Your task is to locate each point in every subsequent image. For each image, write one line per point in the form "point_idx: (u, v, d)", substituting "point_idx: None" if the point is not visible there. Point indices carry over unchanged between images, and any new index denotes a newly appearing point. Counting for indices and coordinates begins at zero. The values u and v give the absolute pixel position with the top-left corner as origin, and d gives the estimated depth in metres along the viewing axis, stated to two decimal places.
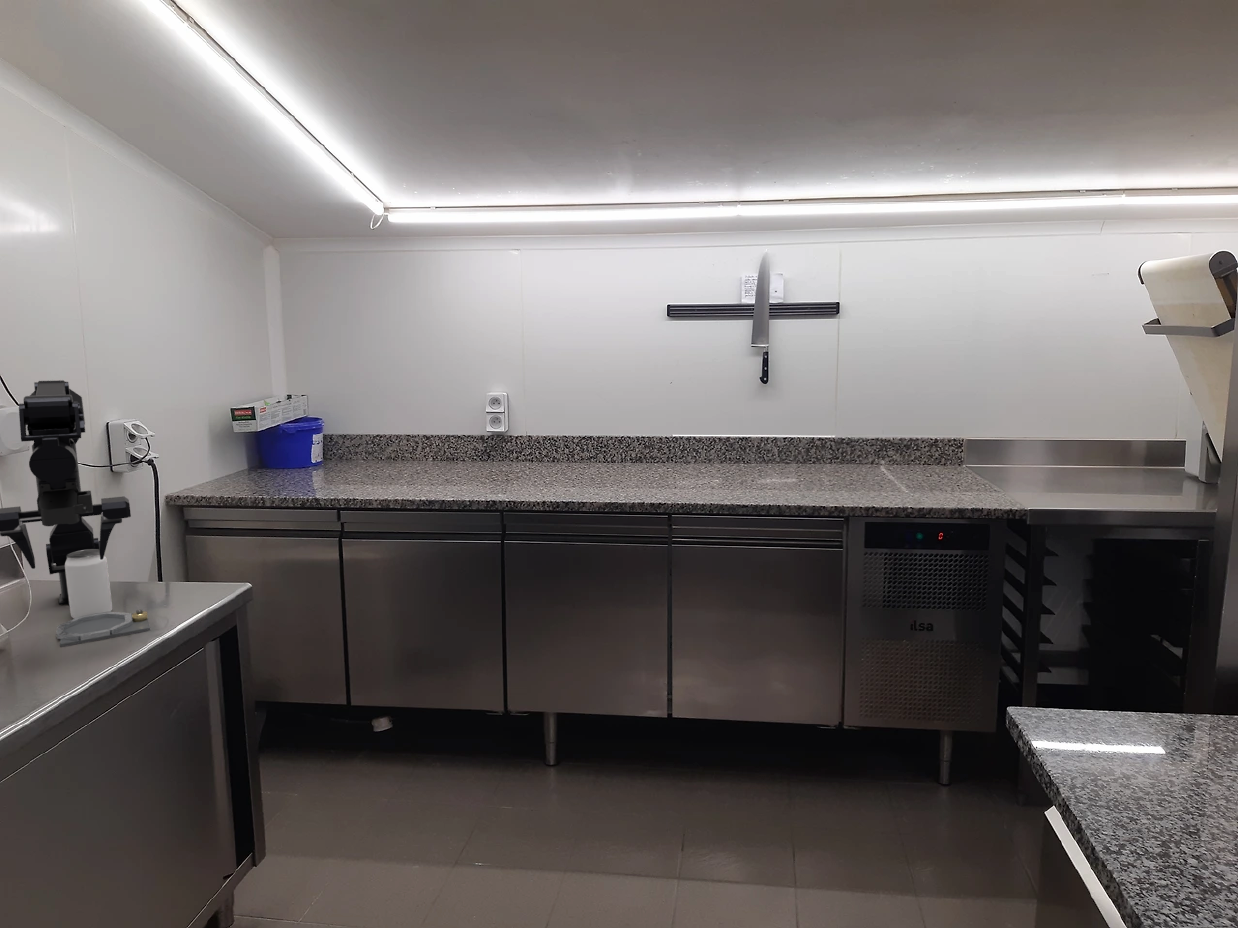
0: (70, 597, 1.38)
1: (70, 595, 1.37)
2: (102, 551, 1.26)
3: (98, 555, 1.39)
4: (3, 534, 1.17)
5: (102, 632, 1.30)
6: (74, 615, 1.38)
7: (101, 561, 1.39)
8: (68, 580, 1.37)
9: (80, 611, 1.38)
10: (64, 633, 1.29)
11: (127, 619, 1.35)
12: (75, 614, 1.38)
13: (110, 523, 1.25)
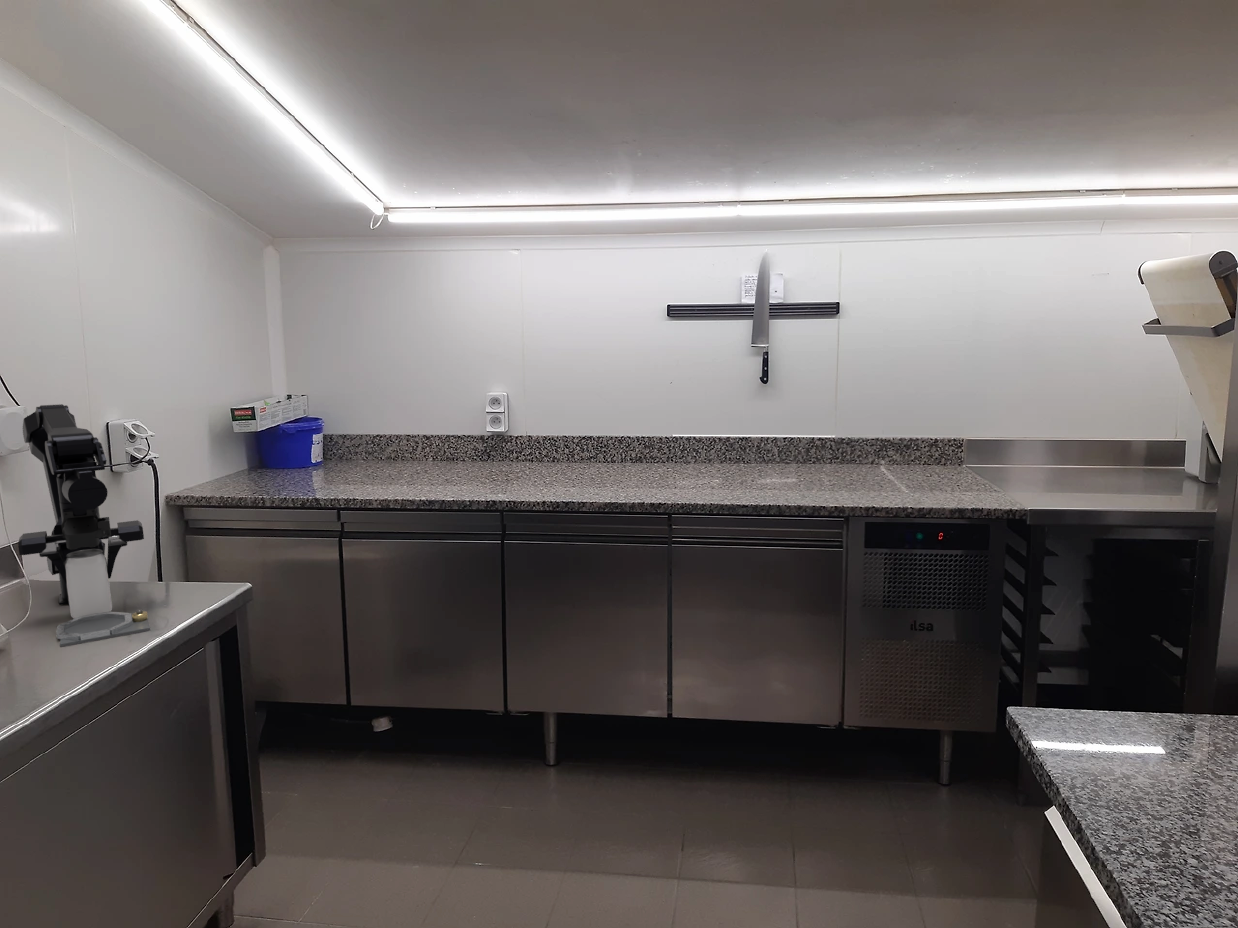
0: (70, 597, 1.38)
1: (70, 595, 1.37)
2: (109, 571, 1.41)
3: (98, 555, 1.39)
4: (42, 555, 1.33)
5: (102, 632, 1.30)
6: (74, 615, 1.38)
7: (100, 561, 1.39)
8: (68, 580, 1.37)
9: (80, 611, 1.38)
10: (64, 633, 1.29)
11: (127, 619, 1.35)
12: (75, 614, 1.38)
13: (117, 546, 1.40)
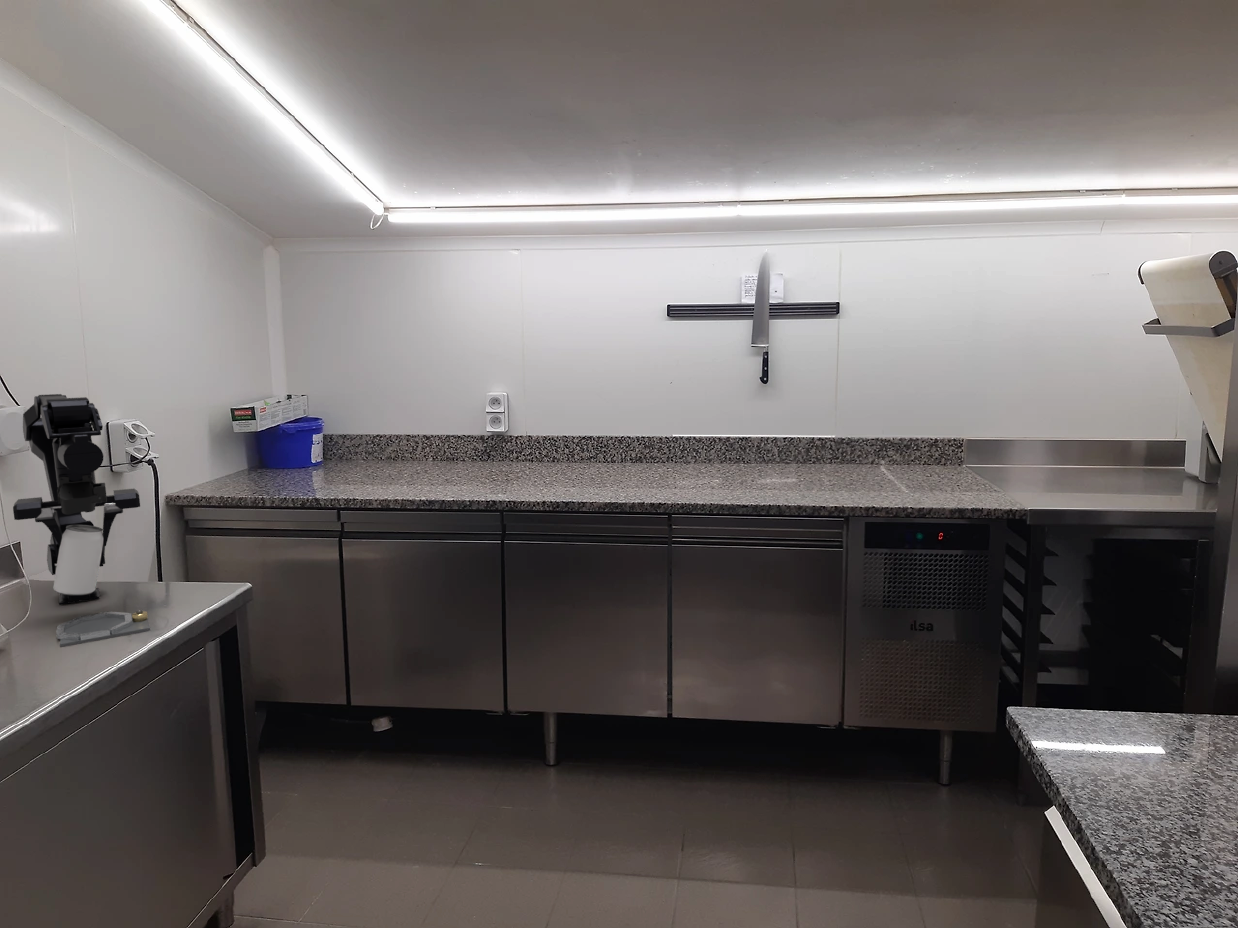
0: (57, 569, 1.36)
1: (58, 567, 1.36)
2: (105, 539, 1.40)
3: (96, 532, 1.38)
4: (38, 520, 1.32)
5: (102, 632, 1.30)
6: (56, 588, 1.36)
7: (97, 539, 1.38)
8: (60, 551, 1.36)
9: (62, 585, 1.35)
10: (64, 633, 1.29)
11: (127, 619, 1.35)
12: (57, 587, 1.36)
13: (112, 513, 1.38)
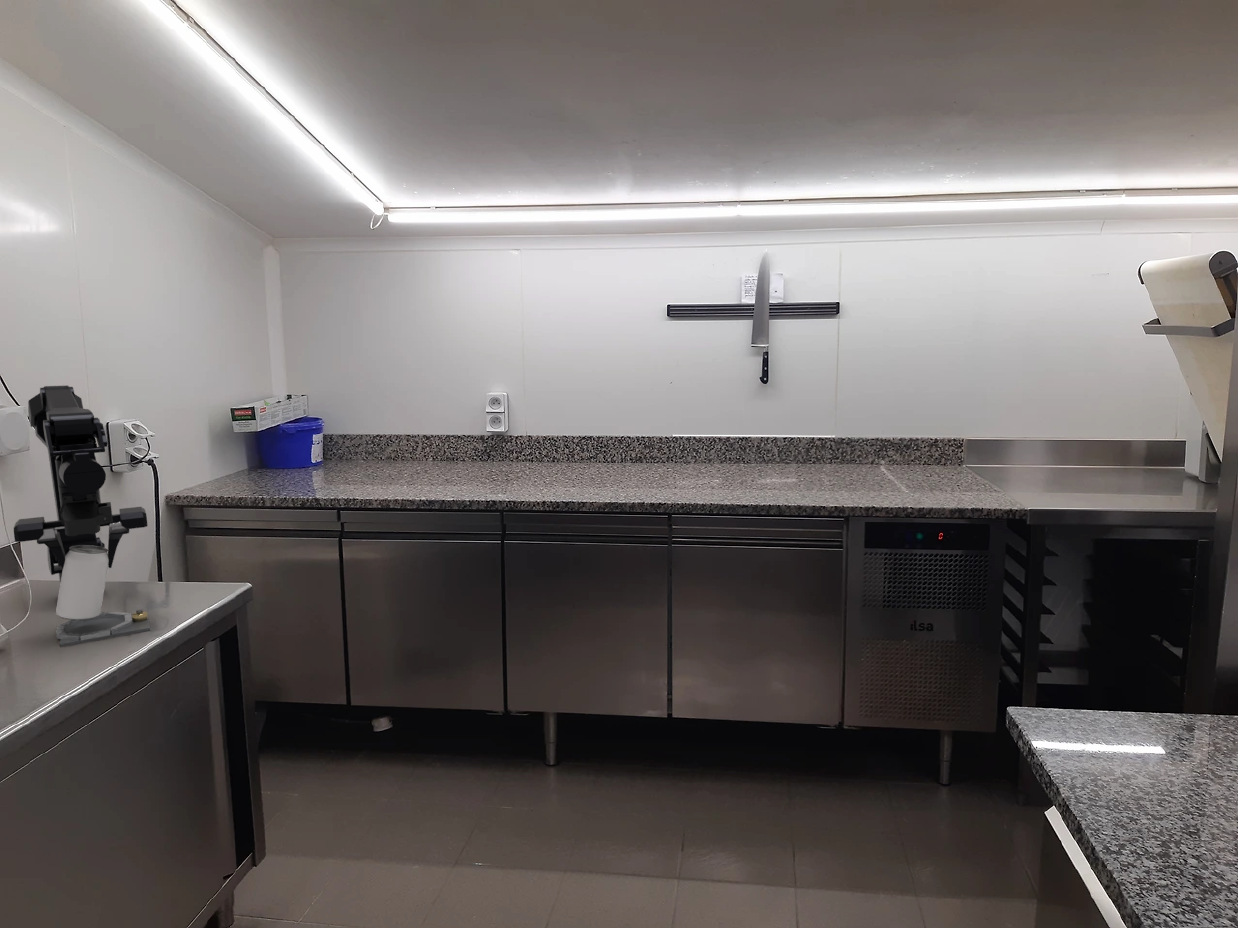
0: (60, 592, 1.29)
1: (61, 590, 1.29)
2: (110, 560, 1.33)
3: (101, 553, 1.31)
4: (40, 542, 1.25)
5: (102, 632, 1.30)
6: (59, 612, 1.29)
7: (102, 561, 1.31)
8: (63, 574, 1.29)
9: (66, 609, 1.28)
10: (64, 633, 1.29)
11: (127, 619, 1.35)
12: (60, 611, 1.29)
13: (118, 533, 1.31)
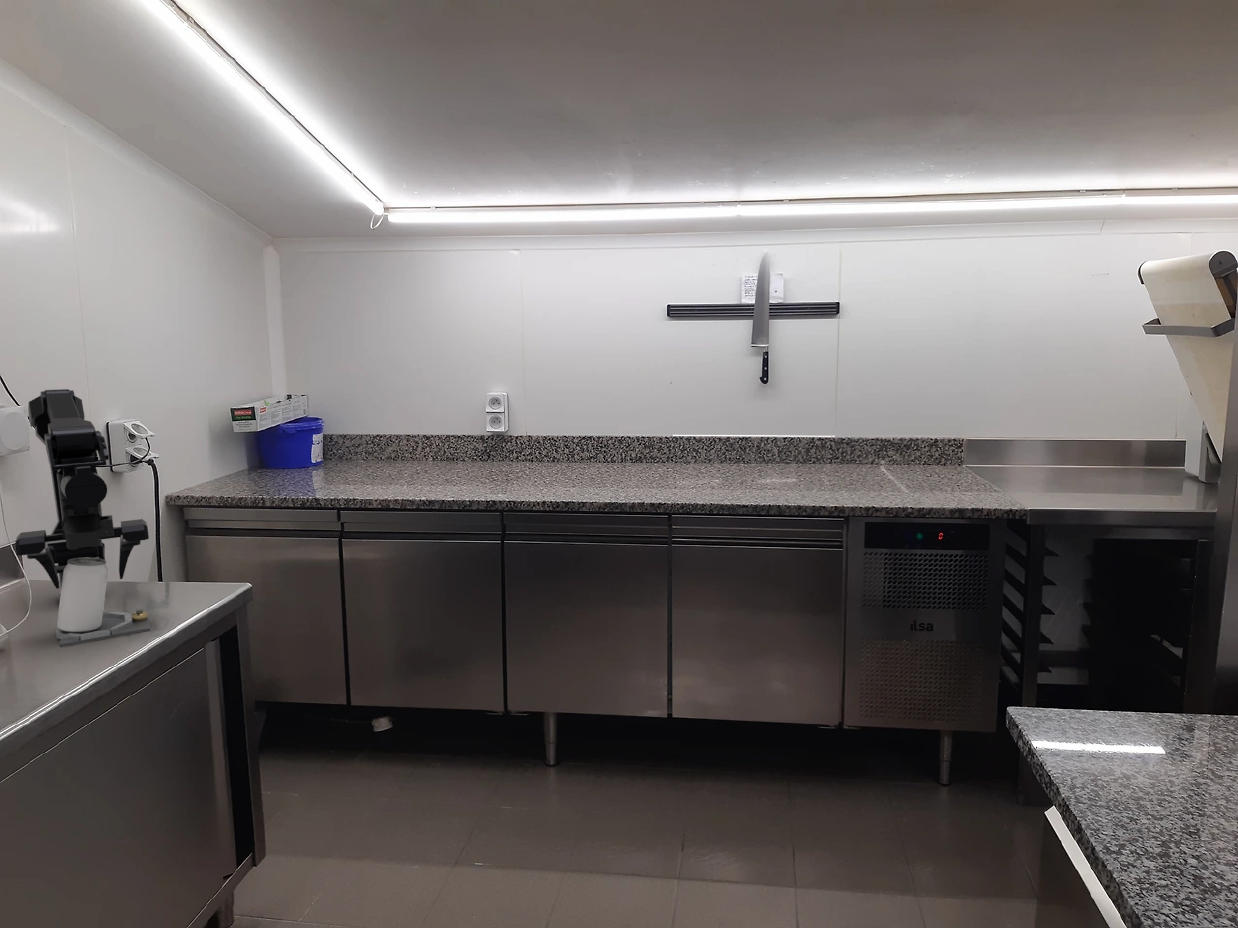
0: (60, 605, 1.29)
1: (61, 603, 1.29)
2: (121, 571, 1.34)
3: (100, 565, 1.31)
4: (30, 557, 1.24)
5: (102, 632, 1.30)
6: (60, 625, 1.29)
7: (101, 573, 1.31)
8: (63, 587, 1.29)
9: (66, 622, 1.29)
10: (64, 633, 1.29)
11: (127, 619, 1.35)
12: (61, 624, 1.29)
13: (129, 545, 1.32)
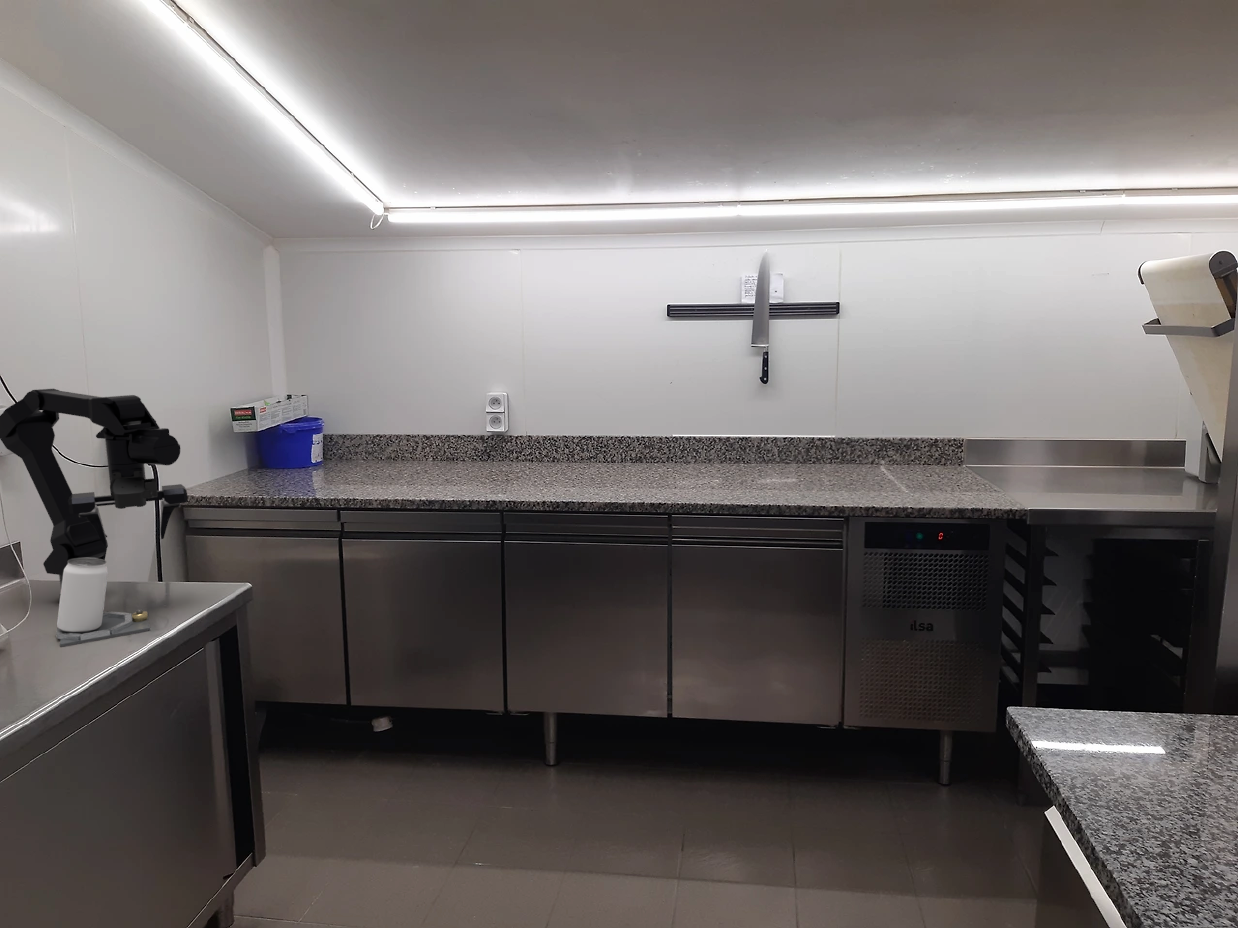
0: (60, 605, 1.29)
1: (61, 603, 1.29)
2: (162, 532, 1.45)
3: (100, 565, 1.31)
4: (82, 515, 1.36)
5: (102, 632, 1.30)
6: (60, 625, 1.29)
7: (101, 573, 1.31)
8: (63, 587, 1.29)
9: (66, 622, 1.29)
10: (64, 633, 1.29)
11: (127, 619, 1.35)
12: (61, 624, 1.29)
13: (170, 507, 1.43)
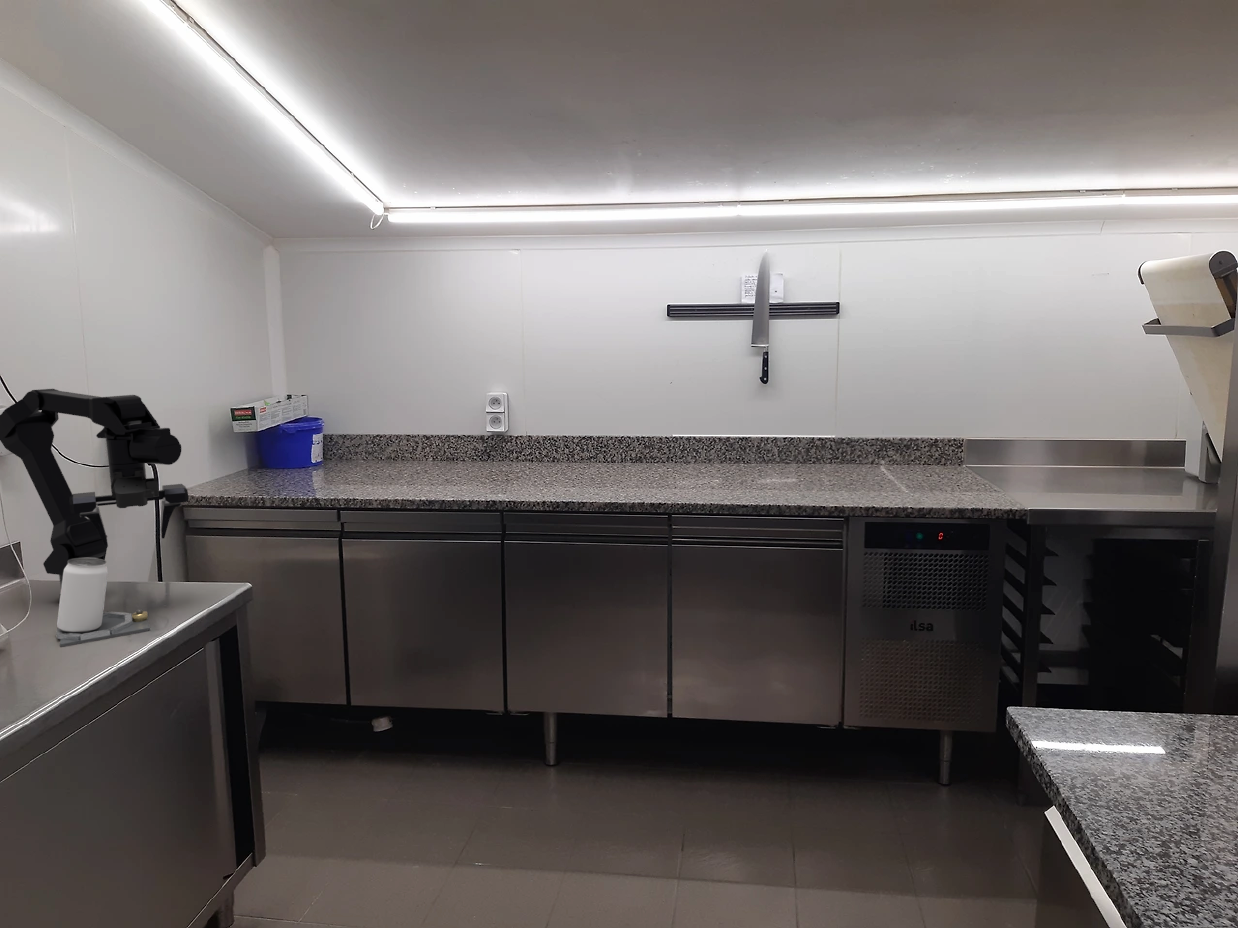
0: (60, 605, 1.29)
1: (61, 603, 1.29)
2: (163, 531, 1.45)
3: (100, 565, 1.31)
4: (83, 515, 1.36)
5: (102, 632, 1.30)
6: (60, 625, 1.29)
7: (101, 573, 1.31)
8: (63, 587, 1.29)
9: (66, 622, 1.29)
10: (64, 633, 1.29)
11: (127, 619, 1.35)
12: (61, 624, 1.29)
13: (171, 506, 1.44)
